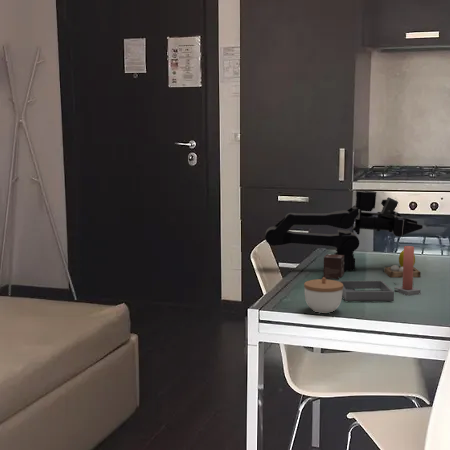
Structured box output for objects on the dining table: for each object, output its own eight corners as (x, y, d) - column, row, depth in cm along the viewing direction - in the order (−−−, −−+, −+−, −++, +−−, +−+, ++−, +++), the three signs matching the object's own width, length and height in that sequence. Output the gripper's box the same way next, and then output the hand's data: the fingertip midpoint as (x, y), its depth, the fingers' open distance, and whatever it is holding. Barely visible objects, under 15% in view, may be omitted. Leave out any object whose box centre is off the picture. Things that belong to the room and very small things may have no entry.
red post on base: (394, 291, 220) (396, 245, 218) (407, 289, 223) (408, 244, 220) (407, 295, 215) (409, 249, 213) (420, 293, 217) (422, 247, 215)
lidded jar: (295, 310, 198) (296, 277, 197) (319, 303, 206) (320, 271, 204) (326, 318, 191) (327, 284, 189) (350, 310, 198) (351, 277, 197)
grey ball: (399, 276, 237) (400, 267, 236) (397, 274, 240) (397, 265, 239) (408, 276, 237) (409, 267, 236) (406, 274, 240) (406, 265, 239)
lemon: (416, 272, 246) (417, 249, 245) (400, 272, 246) (401, 249, 245) (412, 269, 251) (413, 247, 250) (396, 269, 251) (397, 246, 250)
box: (341, 280, 235) (341, 258, 234) (322, 278, 237) (323, 257, 236) (344, 276, 241) (344, 254, 240) (326, 274, 243) (326, 253, 242)
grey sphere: (391, 274, 239) (391, 266, 238) (389, 272, 242) (389, 264, 241) (400, 274, 239) (400, 266, 238) (398, 272, 242) (398, 264, 241)
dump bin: (337, 290, 221) (337, 280, 221) (382, 290, 222) (382, 280, 221) (345, 302, 207) (346, 292, 207) (393, 301, 208) (394, 291, 207)
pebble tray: (390, 279, 236) (390, 272, 235) (384, 274, 243) (384, 267, 243) (420, 279, 236) (420, 272, 235) (413, 274, 244) (413, 267, 243)
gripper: (379, 201, 234) (428, 204, 233) (372, 195, 253) (417, 198, 252) (376, 234, 236) (424, 238, 235) (369, 226, 254) (413, 229, 253)
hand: (419, 224), depth 244 cm, fingers open, 9 cm apart
